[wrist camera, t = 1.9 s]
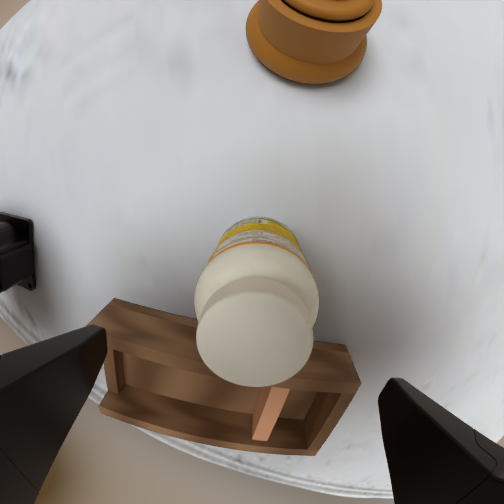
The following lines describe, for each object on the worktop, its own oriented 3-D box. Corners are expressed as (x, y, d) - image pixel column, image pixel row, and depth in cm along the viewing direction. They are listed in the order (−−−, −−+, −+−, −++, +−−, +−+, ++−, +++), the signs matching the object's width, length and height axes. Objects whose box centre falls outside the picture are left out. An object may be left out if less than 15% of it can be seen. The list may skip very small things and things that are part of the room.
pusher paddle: (252, 412, 21) (251, 439, 18) (271, 357, 19) (272, 385, 16) (266, 414, 21) (267, 441, 18) (287, 360, 19) (290, 388, 16)
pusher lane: (119, 380, 22) (100, 412, 18) (114, 298, 19) (84, 327, 15) (309, 418, 22) (314, 455, 18) (345, 345, 20) (361, 383, 16)
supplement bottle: (244, 199, 17) (224, 235, 8) (316, 244, 18) (366, 319, 9) (202, 269, 19) (154, 359, 9) (270, 308, 19) (276, 415, 10)
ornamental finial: (337, -4, 13) (374, 81, 15) (234, 9, 13) (264, 98, 15) (368, -69, 5) (437, 38, 7) (219, -65, 6) (267, 45, 8)
